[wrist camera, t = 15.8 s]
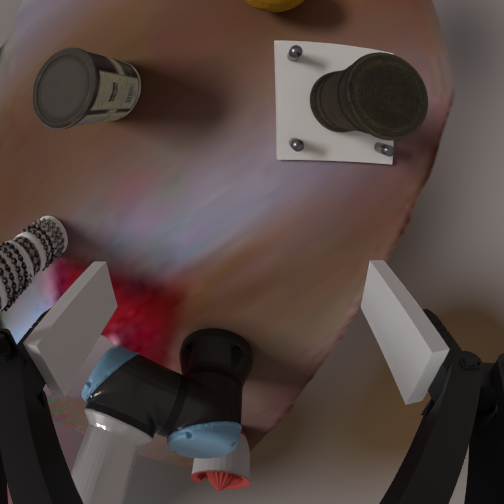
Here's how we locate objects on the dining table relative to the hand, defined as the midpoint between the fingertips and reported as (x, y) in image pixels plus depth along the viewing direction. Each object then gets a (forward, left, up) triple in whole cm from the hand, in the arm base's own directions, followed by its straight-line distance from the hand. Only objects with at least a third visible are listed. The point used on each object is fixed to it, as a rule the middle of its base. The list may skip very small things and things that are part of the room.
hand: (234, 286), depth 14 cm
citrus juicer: (-73, +10, -32) cm, 80 cm away
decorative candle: (-10, +39, -32) cm, 52 cm away
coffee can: (+14, +21, -32) cm, 41 cm away
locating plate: (+10, -13, -32) cm, 36 cm away
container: (+10, -13, -31) cm, 35 cm away
